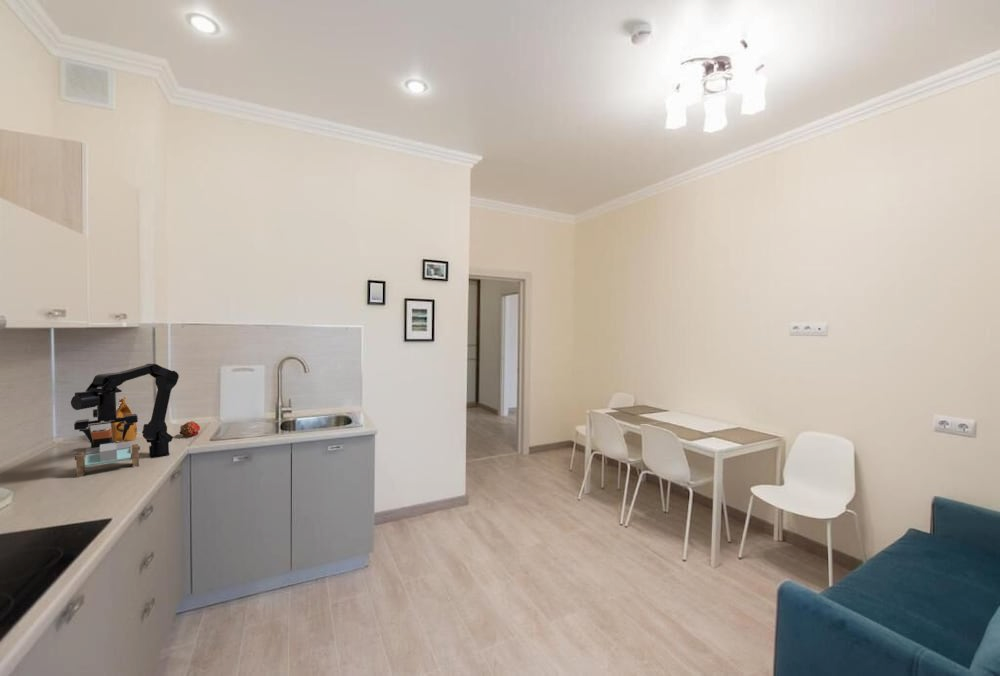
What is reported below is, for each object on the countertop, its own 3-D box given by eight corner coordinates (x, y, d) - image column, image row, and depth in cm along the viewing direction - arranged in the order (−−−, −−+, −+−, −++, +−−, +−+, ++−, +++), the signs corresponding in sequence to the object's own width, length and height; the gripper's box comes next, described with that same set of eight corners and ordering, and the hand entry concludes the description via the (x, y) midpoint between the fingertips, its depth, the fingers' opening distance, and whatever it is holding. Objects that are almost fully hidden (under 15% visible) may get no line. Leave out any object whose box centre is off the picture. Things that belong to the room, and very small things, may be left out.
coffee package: (110, 444, 205) (108, 400, 204) (112, 438, 215) (110, 396, 214) (136, 440, 212) (135, 398, 210) (137, 434, 221) (136, 394, 220)
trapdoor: (130, 448, 181) (130, 442, 180) (131, 463, 174) (130, 457, 173) (86, 454, 172) (86, 449, 171) (85, 470, 165) (85, 464, 164)
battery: (93, 449, 198) (92, 428, 197) (112, 446, 201) (111, 426, 201) (91, 451, 194) (90, 430, 193) (110, 449, 198) (109, 428, 197)
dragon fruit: (186, 442, 214) (190, 439, 225) (202, 431, 218) (205, 428, 229) (174, 430, 213) (178, 428, 223) (190, 419, 216) (194, 417, 227)
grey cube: (116, 451, 174) (116, 442, 172) (117, 459, 170) (116, 449, 169) (100, 454, 170) (99, 444, 169) (100, 461, 167) (99, 451, 165)
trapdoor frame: (140, 462, 181) (139, 443, 180) (140, 465, 177) (140, 446, 177) (75, 474, 167) (75, 453, 167) (74, 477, 164) (74, 456, 163)
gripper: (136, 398, 181) (137, 433, 182) (75, 404, 168) (77, 441, 169) (137, 402, 173) (138, 439, 174) (73, 409, 160) (75, 448, 161)
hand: (108, 441), depth 170 cm, fingers open, 9 cm apart
